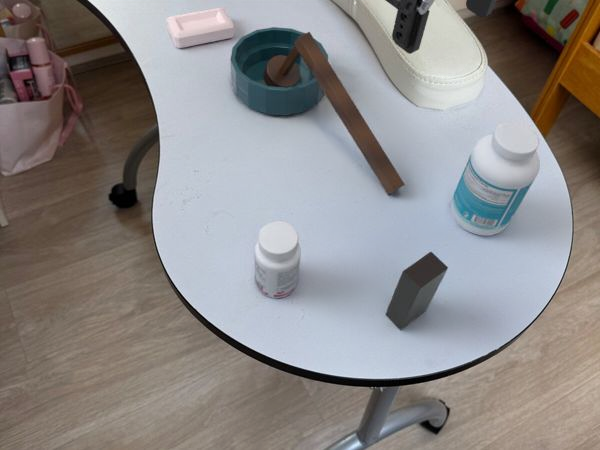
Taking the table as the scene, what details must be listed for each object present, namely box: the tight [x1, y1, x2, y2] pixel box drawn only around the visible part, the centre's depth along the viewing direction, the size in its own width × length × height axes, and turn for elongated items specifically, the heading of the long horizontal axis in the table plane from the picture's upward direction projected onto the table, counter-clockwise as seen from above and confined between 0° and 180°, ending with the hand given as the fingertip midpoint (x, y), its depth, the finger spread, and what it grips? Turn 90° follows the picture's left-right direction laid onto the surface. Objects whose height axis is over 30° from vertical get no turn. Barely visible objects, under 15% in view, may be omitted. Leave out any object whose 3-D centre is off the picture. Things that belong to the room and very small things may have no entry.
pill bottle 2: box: [450, 121, 541, 236], centre depth 67 cm, size 8×7×14 cm
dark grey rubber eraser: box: [385, 251, 449, 331], centre depth 60 cm, size 2×4×9 cm, turn 128°
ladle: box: [263, 31, 406, 196], centre depth 77 cm, size 24×5×11 cm, turn 39°
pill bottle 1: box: [254, 220, 302, 299], centre depth 62 cm, size 5×5×8 cm
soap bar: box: [165, 6, 235, 49], centre depth 89 cm, size 5×9×2 cm, turn 113°
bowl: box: [230, 26, 329, 116], centre depth 82 cm, size 13×13×5 cm
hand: (442, 28), depth 47 cm, fingers open, 8 cm apart
